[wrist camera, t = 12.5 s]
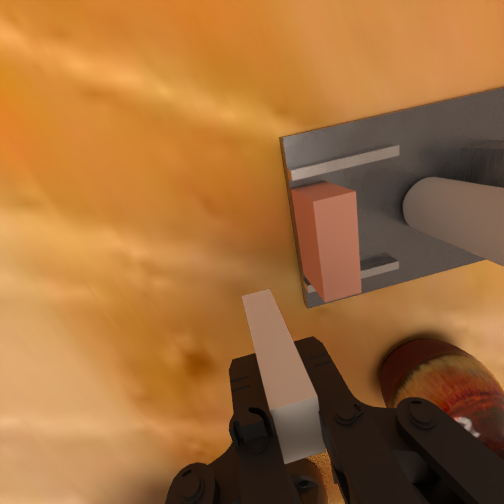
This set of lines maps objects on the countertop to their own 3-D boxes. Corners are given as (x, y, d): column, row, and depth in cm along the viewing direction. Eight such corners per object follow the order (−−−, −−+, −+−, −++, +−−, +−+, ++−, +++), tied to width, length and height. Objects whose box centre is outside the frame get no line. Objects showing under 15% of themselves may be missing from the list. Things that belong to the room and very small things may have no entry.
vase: (357, 399, 36) (459, 569, 22) (384, 325, 32) (529, 473, 18) (432, 397, 38) (567, 549, 24) (465, 328, 34) (650, 460, 20)
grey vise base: (304, 303, 29) (328, 341, 24) (279, 137, 23) (304, 137, 17) (498, 249, 31) (563, 274, 25) (525, 82, 25) (618, 66, 19)
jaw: (303, 274, 26) (324, 302, 22) (290, 189, 23) (312, 201, 19) (334, 266, 27) (361, 292, 22) (325, 180, 24) (355, 191, 19)
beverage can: (421, 236, 27) (570, 302, 16) (387, 211, 26) (527, 266, 15) (456, 193, 26) (641, 232, 15) (423, 164, 25) (602, 185, 14)
